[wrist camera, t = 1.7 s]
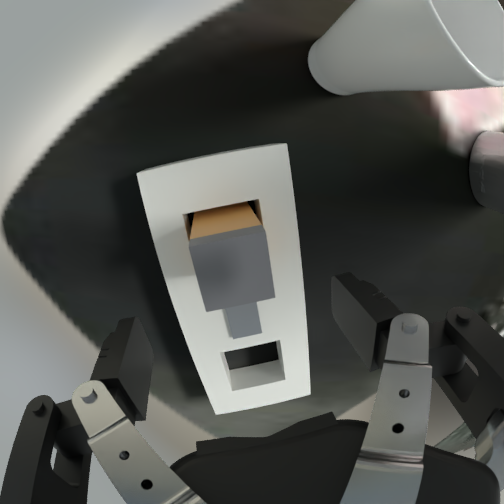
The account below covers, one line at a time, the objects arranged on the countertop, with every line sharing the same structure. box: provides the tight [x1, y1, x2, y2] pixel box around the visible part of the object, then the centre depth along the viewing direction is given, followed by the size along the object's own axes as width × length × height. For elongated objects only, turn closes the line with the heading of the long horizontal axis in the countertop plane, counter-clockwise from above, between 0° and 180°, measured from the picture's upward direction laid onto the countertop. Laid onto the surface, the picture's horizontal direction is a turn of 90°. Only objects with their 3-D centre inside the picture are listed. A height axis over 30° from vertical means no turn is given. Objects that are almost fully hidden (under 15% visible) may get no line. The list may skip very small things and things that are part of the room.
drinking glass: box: [308, 0, 504, 95], centre depth 12 cm, size 7×7×15 cm
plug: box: [189, 201, 275, 312], centre depth 19 cm, size 4×4×8 cm
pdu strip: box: [136, 143, 311, 415], centre depth 24 cm, size 10×24×3 cm, turn 9°
